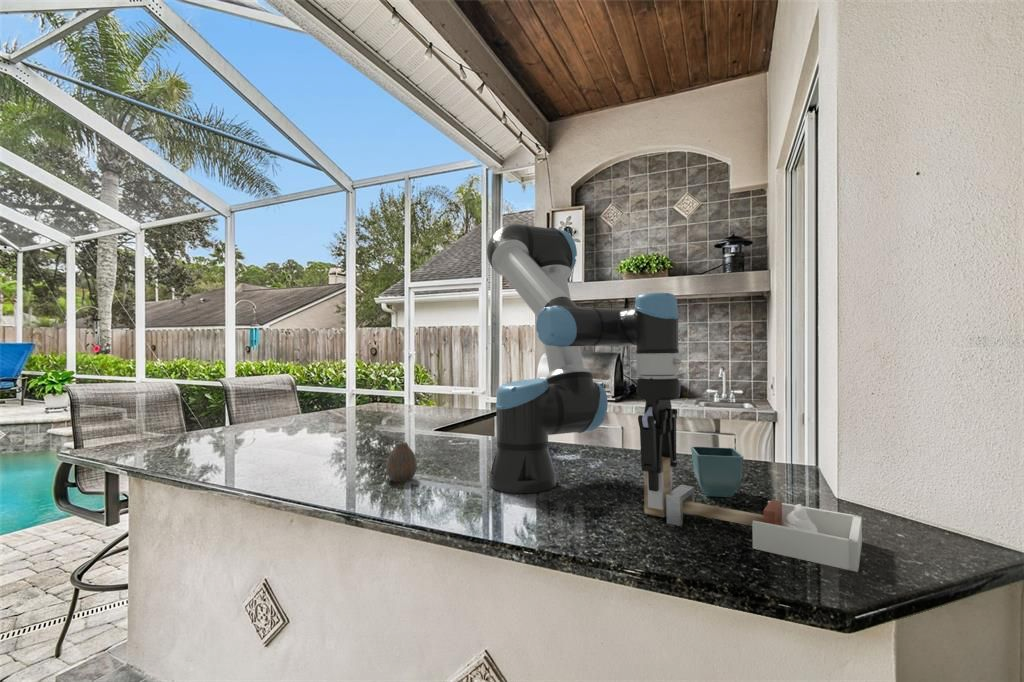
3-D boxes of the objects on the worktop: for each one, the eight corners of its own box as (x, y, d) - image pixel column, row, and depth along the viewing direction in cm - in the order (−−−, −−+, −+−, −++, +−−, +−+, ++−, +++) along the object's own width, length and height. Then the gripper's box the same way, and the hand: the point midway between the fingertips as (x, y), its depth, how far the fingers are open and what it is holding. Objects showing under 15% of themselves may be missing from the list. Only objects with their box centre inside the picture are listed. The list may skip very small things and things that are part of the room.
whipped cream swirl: (824, 512, 72) (784, 509, 73) (825, 552, 72) (784, 549, 73) (811, 500, 77) (774, 498, 78) (812, 538, 77) (774, 535, 78)
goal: (752, 548, 73) (752, 521, 73) (769, 523, 83) (768, 500, 83) (858, 572, 65) (857, 542, 65) (862, 541, 75) (861, 516, 75)
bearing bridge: (666, 523, 84) (666, 494, 84) (681, 511, 90) (681, 484, 90) (680, 526, 83) (680, 496, 83) (694, 514, 89) (694, 486, 89)
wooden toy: (641, 515, 88) (641, 459, 88) (654, 506, 92) (653, 454, 93) (775, 543, 74) (774, 478, 75) (782, 532, 79) (781, 470, 79)
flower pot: (745, 502, 95) (744, 456, 96) (698, 499, 97) (697, 454, 97) (734, 489, 104) (733, 447, 104) (691, 487, 106) (690, 446, 106)
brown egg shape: (403, 474, 118) (403, 438, 118) (423, 479, 114) (422, 441, 114) (380, 481, 113) (380, 443, 113) (400, 485, 109) (400, 446, 109)
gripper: (660, 380, 80) (663, 522, 80) (692, 375, 93) (695, 497, 93) (619, 379, 85) (621, 513, 84) (655, 374, 98) (657, 490, 97)
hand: (660, 504), depth 89 cm, fingers closed on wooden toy, 4 cm apart
